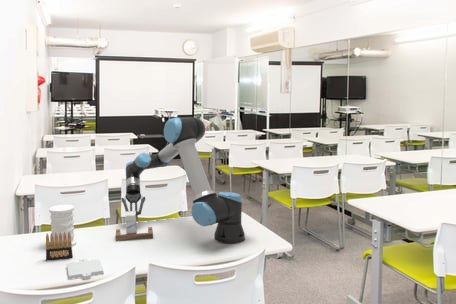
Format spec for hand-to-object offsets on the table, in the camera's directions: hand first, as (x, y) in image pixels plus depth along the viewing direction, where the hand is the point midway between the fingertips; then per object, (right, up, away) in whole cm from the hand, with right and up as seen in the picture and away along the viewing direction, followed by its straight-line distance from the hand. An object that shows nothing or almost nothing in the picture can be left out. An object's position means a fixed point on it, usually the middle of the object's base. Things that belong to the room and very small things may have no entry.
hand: (134, 226), depth 222 cm
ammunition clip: (-25, -8, -35) cm, 44 cm away
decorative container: (-30, -6, -18) cm, 35 cm away
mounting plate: (-10, -11, -47) cm, 49 cm away
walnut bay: (+1, -4, -6) cm, 7 cm away
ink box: (0, -4, -5) cm, 7 cm away
